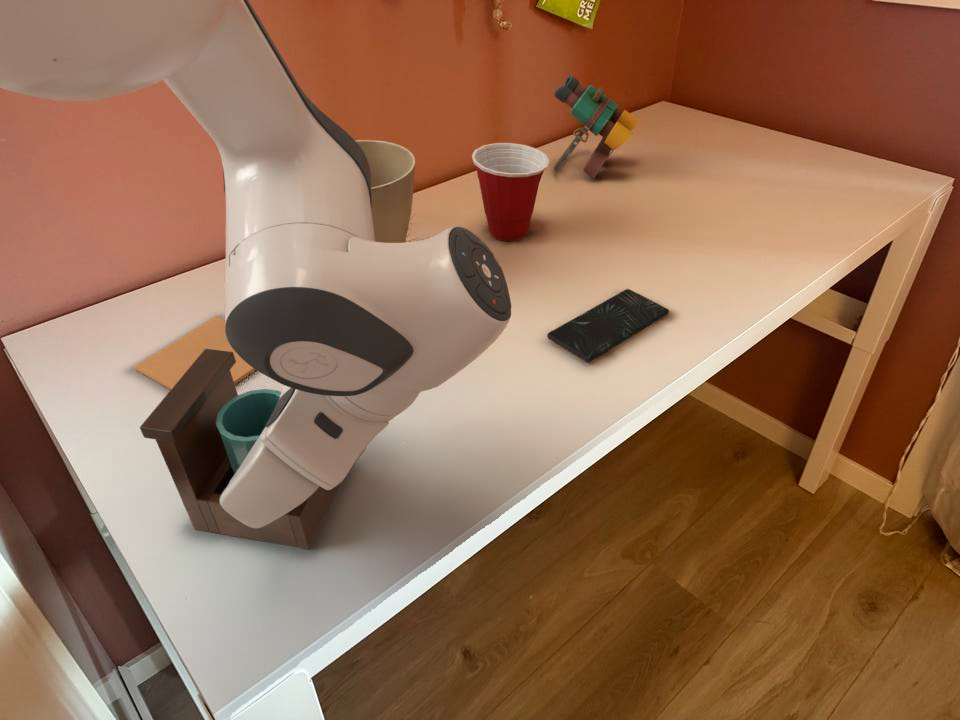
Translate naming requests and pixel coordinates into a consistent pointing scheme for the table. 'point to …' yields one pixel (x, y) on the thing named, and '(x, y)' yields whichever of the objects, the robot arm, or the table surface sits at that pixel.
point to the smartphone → (607, 325)
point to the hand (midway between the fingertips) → (260, 451)
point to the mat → (191, 355)
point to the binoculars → (595, 122)
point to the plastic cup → (509, 186)
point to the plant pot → (390, 188)
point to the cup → (244, 422)
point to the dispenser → (217, 456)
